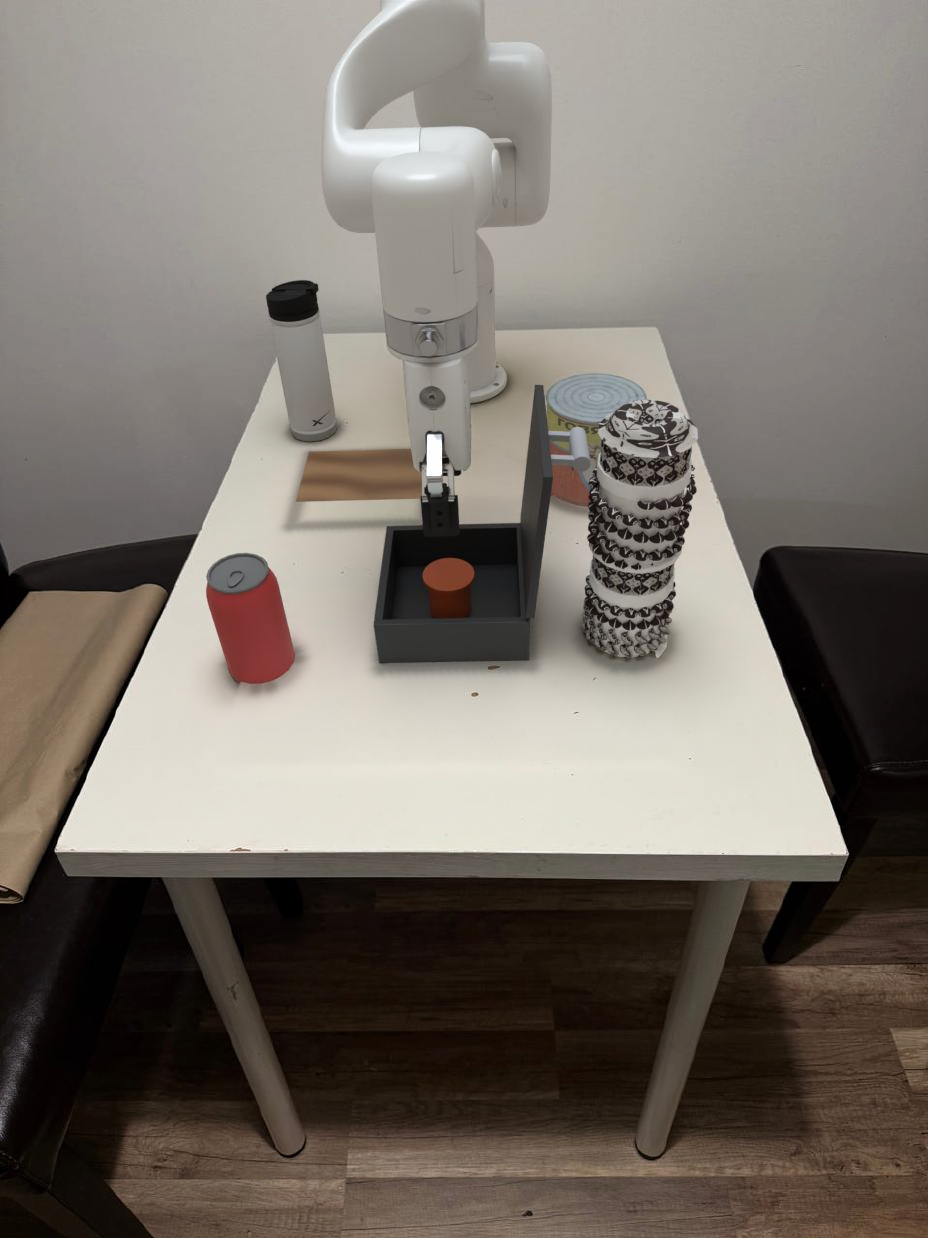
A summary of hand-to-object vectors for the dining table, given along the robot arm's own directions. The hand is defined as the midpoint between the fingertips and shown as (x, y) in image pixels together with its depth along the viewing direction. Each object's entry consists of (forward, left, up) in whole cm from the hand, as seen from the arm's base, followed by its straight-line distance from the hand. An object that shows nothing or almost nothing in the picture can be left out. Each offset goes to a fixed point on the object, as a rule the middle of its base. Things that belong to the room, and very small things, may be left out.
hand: (443, 503), depth 83 cm
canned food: (-23, +17, -14) cm, 32 cm away
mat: (-24, -11, -14) cm, 30 cm away
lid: (0, +8, 0) cm, 8 cm away
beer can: (+7, -18, -14) cm, 24 cm away
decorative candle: (+4, +18, -14) cm, 23 cm away
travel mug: (-38, -19, -14) cm, 45 cm away
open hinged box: (0, +1, -14) cm, 14 cm away
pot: (0, 0, -13) cm, 13 cm away
